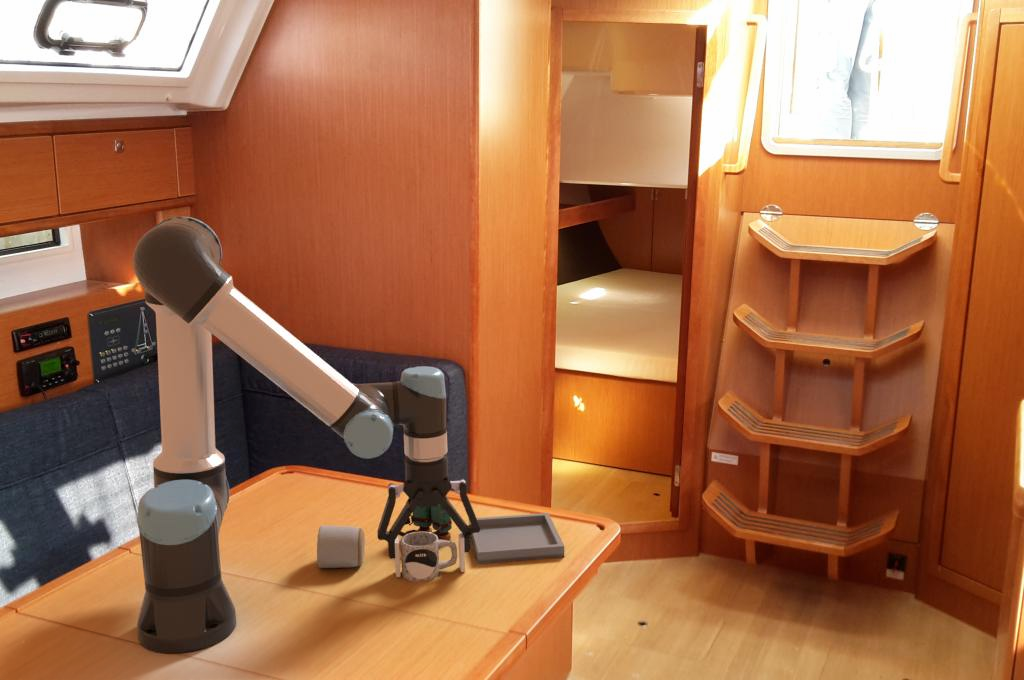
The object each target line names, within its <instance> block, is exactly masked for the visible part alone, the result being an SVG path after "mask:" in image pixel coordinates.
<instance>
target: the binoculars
mask: <svg viewBox="0 0 1024 680" xmlns="http://www.w3.org/2000/svg"><path fill="white" fill-rule="evenodd" d="M412 524H413V526H416V527H419V528H418V529H411V530H407V531H405V532H404V531H402V530H401V531H400V533H399V535H398V536H400V537H401V538H402V537H403V536H404V535H406V534H409V533H413V532H430V533H433V534H435V535H437V537H438V540H447V541H451V539H452V536H451V532H450V531H451V530H452V528H453V527H452V524H453V520H452V519H451V518H450V516H449V515H448V514H447V512H446V511H445V510H444V509H443V508H442V506H441V505H440V504H439V505H437V506H435V507H432V506H426V507H421V508H420V507H419V506H417V507H416V509H415V510H414V512H412V514H411V515H410V517H409V518H408V520H407V522H406V523H405V525H408V526H411V525H412ZM405 525H404V526H405ZM431 526H432V527H431ZM432 529H433V530H434V531H432Z"/></svg>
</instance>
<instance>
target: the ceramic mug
mask: <svg viewBox="0 0 1024 680" xmlns="http://www.w3.org/2000/svg"><path fill="white" fill-rule="evenodd" d="M365 543H366V541H365V531H364V529H363V528H362V527H358V526H346V525H345V526H342V525H341V526H340V525H327V524H326V525H324V524H322V525H320V526H319V527H318V531H317V542H316V561H317V562H316V563H317V567H318V568H319V569H336V568H337V569H338V568H340V569H341V568H357V567H360V566H362V564H363V563H364V558H365V545H366V544H365Z"/></svg>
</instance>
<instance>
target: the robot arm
mask: <svg viewBox="0 0 1024 680" xmlns="http://www.w3.org/2000/svg"><path fill="white" fill-rule="evenodd" d="M132 255H133V256H132V265H133V271H134V274H135V276H136V278H137V280H138V283H140V285H141V287H143V289H144V296H145V297H144V299H145V300H144V301H145V304H146V305H147V306H148V307H150V308H151V310H153V311H154V312H155V322H156V323H155V325H156V327H155V328H156V343H157V344H156V347H157V348H156V349H157V365H158V366H157V369H158V386H159V387H158V391H159V410H160V413H159V414H160V431H161V432H160V433H161V434H160V435H161V452H160V453H159V454H158V455H157V456H156V458H154V460H153V461H152V467H153V468H152V469H153V487H152V488H150V489H149V490H147V491H146V492H145V493H143V494H142V497H141V498H140V499H139V501H138V503H137V504H138V505H137V515H136V522H137V528H138V532H139V539H140V542H139V543H140V551H141V558H142V559H141V561H142V569H143V579H144V590H145V592H144V595H143V600H142V604H141V607H140V611H139V616H138V621H137V625H136V626H137V627H136V628H137V638H138V641H139V643H140V644H141V646H142V647H144V648H146V649H147V650H150V651H154V652H156V653H157V652H158V653H163V654H166V653H167V654H180V653H188V652H193V651H198V650H202V649H204V648H207V647H211V646H213V645H215V644H217V643H219V642H221V641H223V640H225V639H226V638H227V637H229V636H230V635H231V634H232V633H233V631H235V628H236V627H237V614H236V613H237V612H236V608H235V605H234V603H233V601H232V598H231V596H230V593H229V592H228V589H227V587H226V586H225V585H226V584H225V583H224V581H223V578H222V569H221V556H220V555H221V553H220V544H219V543H220V541H219V539H220V538H219V534H220V532H221V531H220V530H221V526H222V524H223V523H222V522H223V519H224V515H225V513H226V510H227V509H228V504H229V501H230V493H231V492H230V485H229V481H228V479H227V475H226V457H225V455H224V453H222V452H221V451H219V449H217V447H216V433H215V432H216V430H215V428H216V427H215V424H216V423H215V402H214V401H215V397H214V373H213V372H214V371H213V369H214V367H213V341H212V340H213V339H212V335H213V336H215V337H216V338H217V339H219V341H220V342H222V343H223V344H224V345H225V346H227V347H228V348H230V349H231V350H232V351H233V352H235V353H236V354H237V355H238V356H240V358H242V359H243V360H244V361H246V362H247V363H248V364H249V365H251V366H252V367H253V368H255V369H256V370H257V371H258V372H260V373H261V374H263V375H264V376H265V377H266V378H268V379H269V380H270V381H271V382H272V383H274V385H276V386H277V387H278V388H280V389H281V390H282V391H284V392H286V393H287V394H288V395H289V396H290V397H292V398H293V399H294V400H295V401H296V402H297V403H298V404H300V405H302V407H304V408H306V409H307V410H308V411H309V412H310V413H312V414H313V415H314V416H315V417H316V418H317V419H319V420H320V421H322V423H324V424H325V425H326V426H328V427H329V428H331V430H332V431H333V432H334V433H336V434H338V436H340V437H341V438H343V441H344V443H345V445H346V447H347V448H348V450H349V451H350V452H351V453H352V454H353V455H355V456H356V457H359V458H361V459H375V458H377V457H380V456H382V455H383V454H384V453H385V452H387V451H388V449H389V448H390V446H391V444H392V441H393V436H394V435H393V434H394V426H400V425H401V426H402V427H403V444H404V445H403V449H404V455H405V457H404V475H405V480H404V482H403V484H396V485H395V484H394V483H391V482H390V483H388V485H387V492H388V496H387V499H386V503H385V506H384V508H383V511H382V512H383V513H382V515H381V519H380V522H379V524H378V527H377V528H378V529H377V531H376V533H377V539H378V540H379V541H386V542H387V548H388V549H387V552H388V557H389V559H390V560H391V559H394V564H395V565H394V567H395V568H394V569H395V577H396V578H401V559H400V555H401V552H400V540H399V536H400V535H399V533H400V531H401V532H402V530H403V528H404V527H405V523H406V522H407V520H408V518H411V516H410V515H413V513H412V512H414V510H415V509H416V507H417V506H419V507H420V508H421V507H426V506H432V507H435V506H437V505H439V504H440V505H441V506H442V508H443V509H444V510H445V511H446V512H447V514H448V515H449V516H450V518H451V520H452V523H454V524H455V525H456V527H457V528H458V529H459V531H458V557H459V561H458V563H459V570H460V572H461V573H464V572H465V573H466V557H465V556H466V555H465V554H466V553H470V552H471V549H472V548H471V535H472V534H473V533H478V532H480V526H479V523H478V521H477V518H478V517H477V515H476V514H475V510H474V507H473V506H472V504H471V501H470V499H469V496H468V494H467V490H468V489H467V483H466V480H465V479H464V478H460V479H458V480H450V477H449V459H448V457H449V456H448V455H447V453H448V432H447V431H448V430H447V425H448V424H447V393H446V392H447V391H446V380H445V374H444V373H443V371H442V370H441V369H440V368H437V367H434V366H428V365H427V366H426V365H425V366H414V367H408V368H405V369H404V370H403V371H402V372H401V375H400V380H398V381H393V382H391V381H390V382H375V383H372V382H371V383H352V382H351V381H349V380H348V379H347V378H346V377H345V376H344V375H342V374H341V372H339V371H337V370H336V369H335V368H334V367H333V366H331V365H330V364H329V363H328V362H326V361H325V360H324V359H323V358H321V357H320V356H319V355H318V354H316V353H315V352H314V351H313V350H312V349H311V348H309V347H308V346H307V345H306V344H304V343H303V342H302V341H301V340H299V339H298V338H297V337H296V336H295V335H293V334H292V333H291V332H289V331H288V330H287V329H286V328H285V327H283V325H281V324H280V323H279V322H277V320H275V319H274V318H273V317H271V316H270V315H269V314H268V313H266V312H265V311H264V310H263V309H262V308H260V307H259V306H258V305H257V304H256V303H254V302H253V301H252V300H251V299H249V298H248V297H247V296H245V294H243V293H242V292H241V291H239V290H238V289H237V288H236V287H235V286H234V281H233V276H232V275H231V274H229V272H227V271H226V270H225V269H223V267H221V264H222V259H223V249H222V245H221V243H220V239H219V236H218V235H217V234H216V233H215V231H214V230H213V229H212V228H211V227H210V226H209V225H208V224H206V223H205V222H203V221H201V220H199V219H198V218H194V217H189V216H176V217H173V216H171V217H168V218H167V219H164V220H161V221H160V222H159V223H157V224H156V225H154V227H152V228H151V229H148V231H147V232H146V233H144V234H143V235H142V237H141V238H140V239H139V240H138V241H137V244H136V246H135V248H134V251H133V254H132ZM452 489H453V490H454V492H455V493H456V494H458V495H459V497H460V500H461V502H462V505H463V508H464V510H465V513H466V515H467V517H468V521H469V520H470V523H471V524H470V525H469V524H467V522H466V521H465V520H464V519H463V517H462V516H461V515H460V513H458V511H457V510H456V508H455V507H454V506H453V504H452V503H451V502H450V500H449V499H448V498H449V497H448V496H447V495H448V494H449V492H450V491H451V490H452ZM402 493H404V494H405V495H406V496H407V497H408V499H407V500H406V503H405V504H404V506H403V508H402V509H401V511H400V513H399V514H398V516H397V518H395V520H394V522H393V524H392V525H391V527H390V529H389V530H388V527H389V524H390V521H391V518H392V515H393V512H394V509H395V506H396V502H397V501H396V500H397V499H398V498H400V497H401V494H402Z"/></svg>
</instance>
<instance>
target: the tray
mask: <svg viewBox="0 0 1024 680" xmlns="http://www.w3.org/2000/svg"><path fill="white" fill-rule="evenodd" d="M476 518H477V521H478V523H479V526H480V532H478V533H473V534H472V535H471V537H470V540H471V541H472V546H473V549H474V553H475V556H476V559H477V564H479V565H480V564H489V563H490V564H491V563H502V562H503V563H506V562H516V561H517V562H518V561H531V560H543V559H545V560H546V559H555V558H556V559H557V558H565V545H564V542H563V540H562V537H561V536H560V534H559V532H558V530H557V527H556V526H555V524H554V521H553V519H552V517H551V515H550V513H549V512H544V513H531V514H530V513H528V514H517V515H516V514H514V515H501V516H488V517H476ZM470 524H471V523H470V520H469V519H468V525H470Z"/></svg>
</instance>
